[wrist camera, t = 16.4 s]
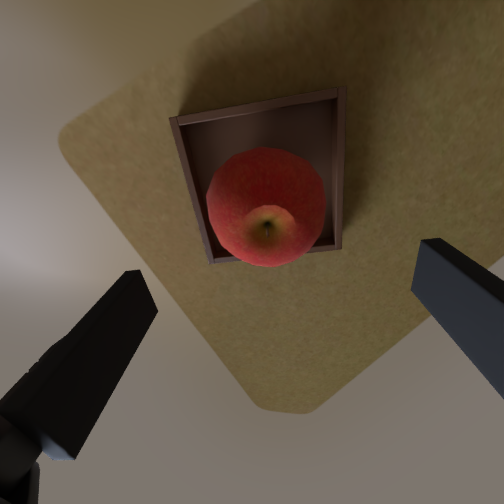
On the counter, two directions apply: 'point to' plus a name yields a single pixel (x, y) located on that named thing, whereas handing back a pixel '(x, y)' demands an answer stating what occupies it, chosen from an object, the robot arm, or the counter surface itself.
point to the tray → (272, 136)
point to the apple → (266, 206)
